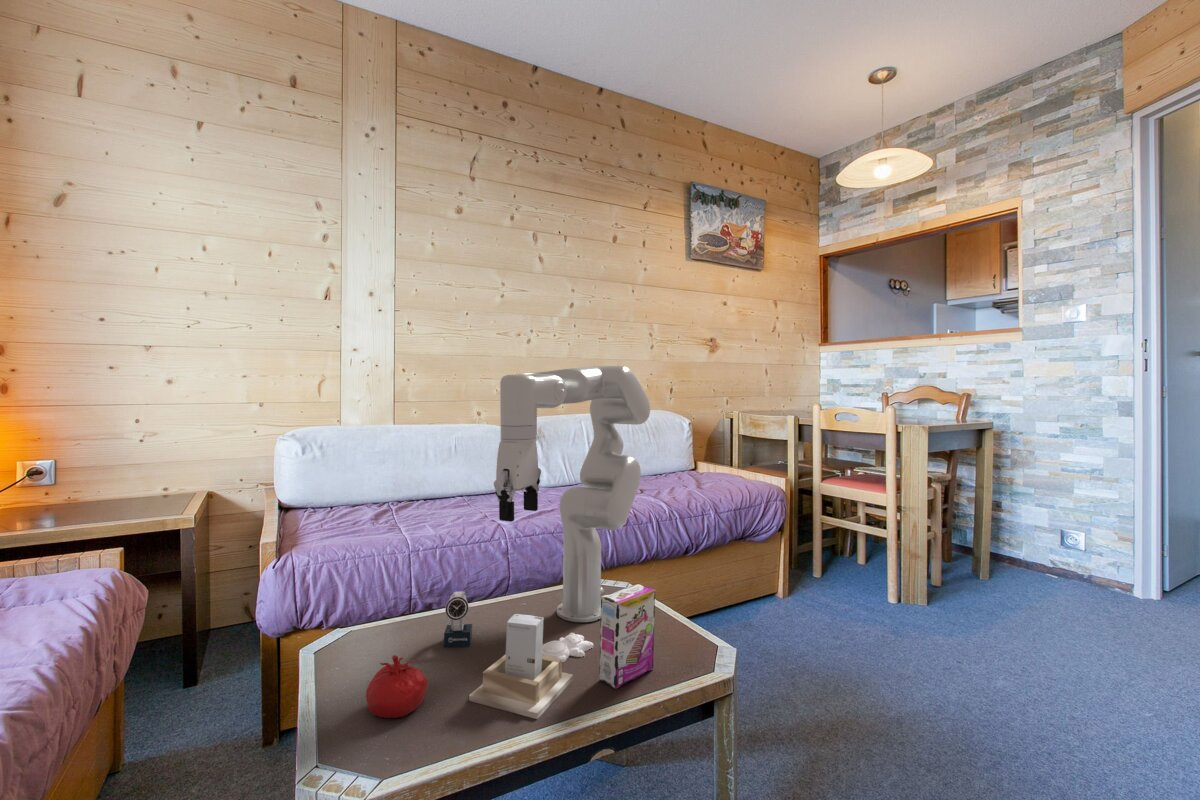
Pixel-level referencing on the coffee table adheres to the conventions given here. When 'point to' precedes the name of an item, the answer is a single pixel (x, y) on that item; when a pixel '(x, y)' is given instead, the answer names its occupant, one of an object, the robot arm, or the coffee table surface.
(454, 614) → the watch
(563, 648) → the astronaut figurine
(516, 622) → the skincare box
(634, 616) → the candy bar box
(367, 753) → the coffee table surface
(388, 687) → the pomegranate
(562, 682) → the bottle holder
